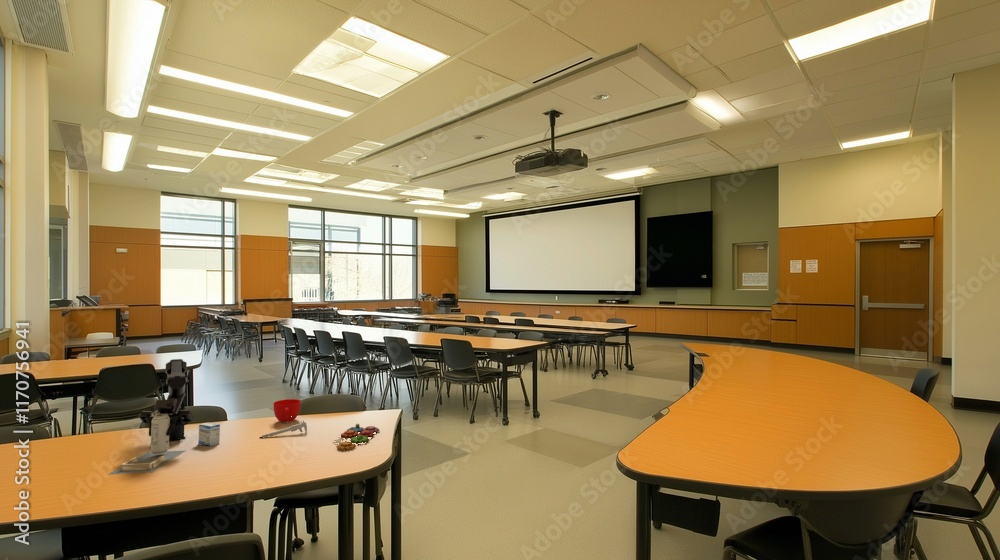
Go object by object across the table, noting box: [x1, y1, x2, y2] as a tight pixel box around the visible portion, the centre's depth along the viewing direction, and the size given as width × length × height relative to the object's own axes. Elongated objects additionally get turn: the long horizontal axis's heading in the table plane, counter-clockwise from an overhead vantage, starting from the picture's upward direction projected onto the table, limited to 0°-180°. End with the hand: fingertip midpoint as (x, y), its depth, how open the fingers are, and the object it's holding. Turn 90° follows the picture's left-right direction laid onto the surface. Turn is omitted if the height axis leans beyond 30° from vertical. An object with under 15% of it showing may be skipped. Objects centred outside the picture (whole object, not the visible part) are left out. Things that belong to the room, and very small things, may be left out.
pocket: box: [119, 455, 166, 471], centre depth 178 cm, size 9×11×2 cm
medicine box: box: [198, 422, 221, 447], centre depth 204 cm, size 8×4×9 cm, turn 68°
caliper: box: [260, 420, 308, 438], centre depth 217 cm, size 20×1×6 cm, turn 115°
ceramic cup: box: [272, 398, 302, 423], centre depth 239 cm, size 13×17×10 cm
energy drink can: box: [150, 413, 170, 454], centre depth 189 cm, size 6×6×15 cm
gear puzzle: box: [333, 423, 380, 451], centre depth 210 cm, size 31×16×4 cm, turn 178°
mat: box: [107, 450, 187, 476], centre depth 182 cm, size 24×15×1 cm, turn 9°
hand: (158, 435), depth 187 cm, fingers closed on energy drink can, 6 cm apart
